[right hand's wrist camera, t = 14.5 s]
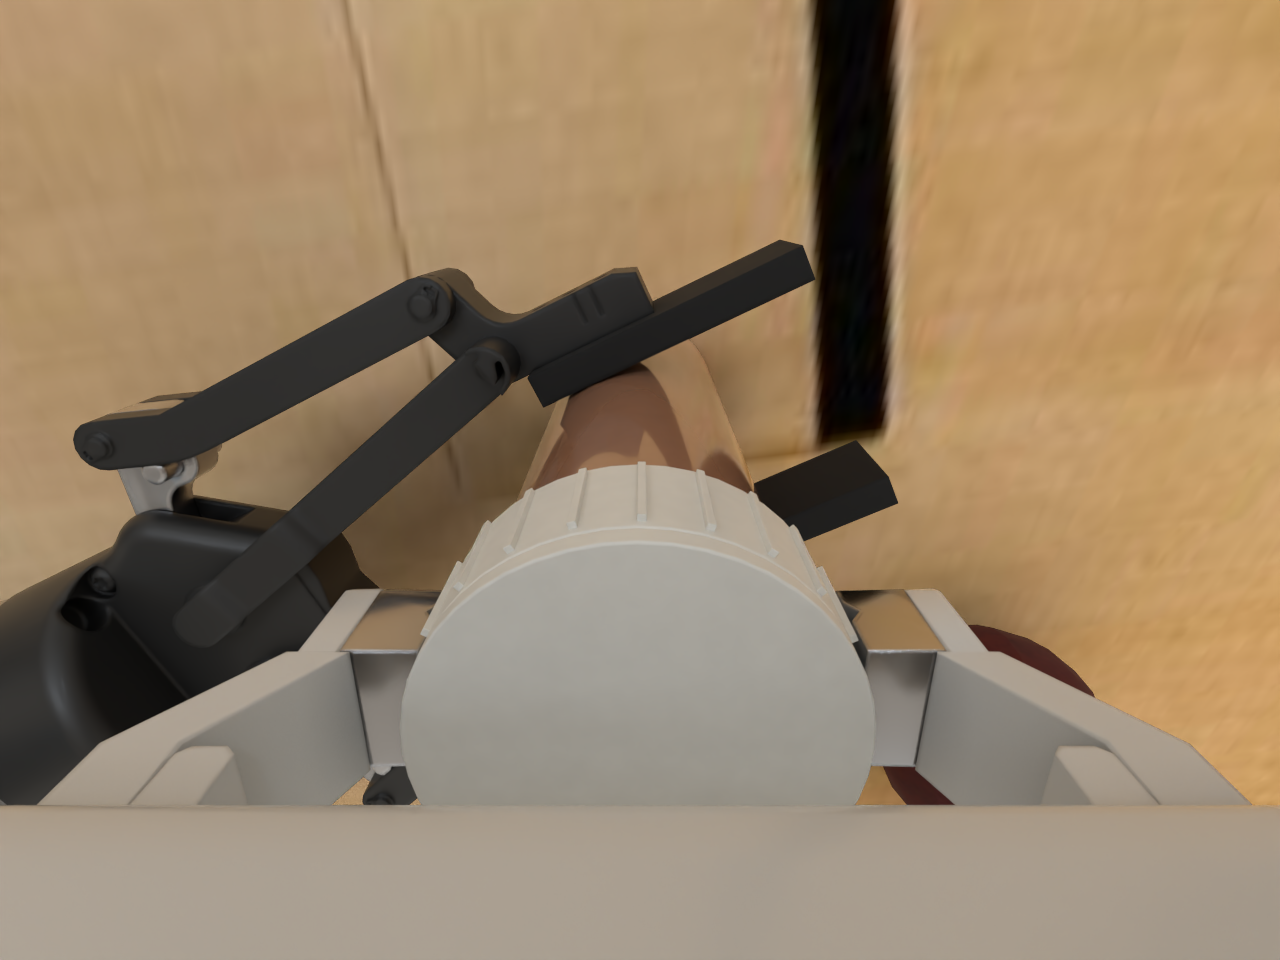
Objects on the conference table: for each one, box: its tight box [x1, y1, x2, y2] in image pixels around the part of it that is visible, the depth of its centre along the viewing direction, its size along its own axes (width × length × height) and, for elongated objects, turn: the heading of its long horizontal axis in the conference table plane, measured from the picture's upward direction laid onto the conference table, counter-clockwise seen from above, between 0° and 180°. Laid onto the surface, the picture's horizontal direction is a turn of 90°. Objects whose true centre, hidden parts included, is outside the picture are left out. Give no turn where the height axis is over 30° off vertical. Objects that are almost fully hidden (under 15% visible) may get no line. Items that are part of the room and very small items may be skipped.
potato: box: [883, 625, 1095, 805], centre depth 24 cm, size 7×8×7 cm
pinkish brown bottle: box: [516, 339, 762, 503], centre depth 16 cm, size 5×5×16 cm
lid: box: [400, 462, 876, 805], centre depth 9 cm, size 6×6×2 cm
